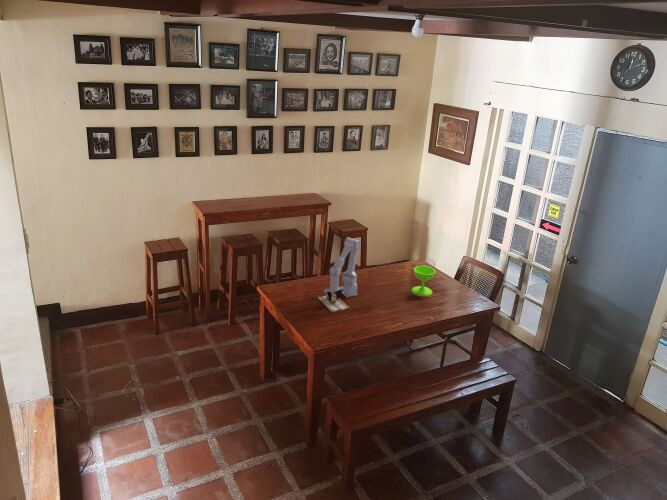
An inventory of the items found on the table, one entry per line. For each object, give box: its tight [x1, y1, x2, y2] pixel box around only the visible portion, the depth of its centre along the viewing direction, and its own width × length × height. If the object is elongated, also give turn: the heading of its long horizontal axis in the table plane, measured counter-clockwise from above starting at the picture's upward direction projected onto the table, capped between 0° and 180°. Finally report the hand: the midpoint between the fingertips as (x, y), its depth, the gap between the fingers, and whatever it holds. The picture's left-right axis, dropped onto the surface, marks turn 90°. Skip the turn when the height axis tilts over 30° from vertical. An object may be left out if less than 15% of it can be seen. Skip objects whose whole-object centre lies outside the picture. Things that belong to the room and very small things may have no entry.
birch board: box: [317, 293, 350, 313], centre depth 378 cm, size 14×22×1 cm, turn 26°
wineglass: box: [410, 265, 436, 298], centre depth 399 cm, size 16×16×18 cm
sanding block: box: [325, 292, 337, 303], centre depth 380 cm, size 8×4×4 cm, turn 25°
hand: (333, 300), depth 377 cm, fingers open, 5 cm apart
